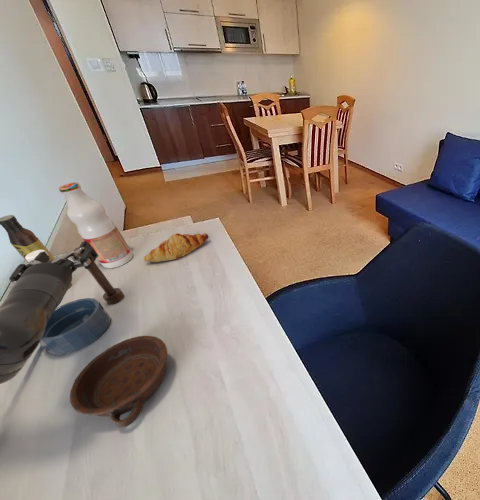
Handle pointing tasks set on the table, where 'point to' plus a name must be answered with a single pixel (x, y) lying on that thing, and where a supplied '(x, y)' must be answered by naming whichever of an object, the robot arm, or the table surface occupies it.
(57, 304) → the robot arm
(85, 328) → the bowl
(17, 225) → the sauce bottle
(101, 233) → the fruit juice
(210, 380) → the table surface
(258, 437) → the table surface
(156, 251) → the croissant
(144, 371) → the dish
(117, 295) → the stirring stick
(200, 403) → the table surface
